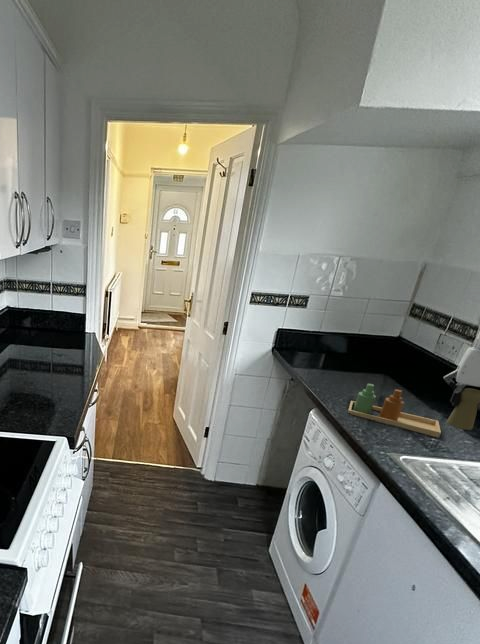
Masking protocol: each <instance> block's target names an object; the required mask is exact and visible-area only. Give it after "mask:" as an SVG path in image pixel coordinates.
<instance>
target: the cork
mask: <svg viewBox="0 0 480 644" xmlns="http://www.w3.org/2000/svg"><path fill="white" fill-rule="evenodd" d="M460 393H461V396H460V399H459V401H458V404H457V406H455V407H454V408H453V410H452V412H451V413H450V415H449V416H448V418H447V419H446V424H447V425H449V426H451V427H454V428H456V429H460V430H464V431H465V430H467V431H470V430H473V429H474V424H475V421H476V417H477V412H478V410H479V409H478V406H479V404H480V390H479V389H475V388H469V387H468V388H467V387H466V388H463V389H462V390H461V392H460Z"/></svg>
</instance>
